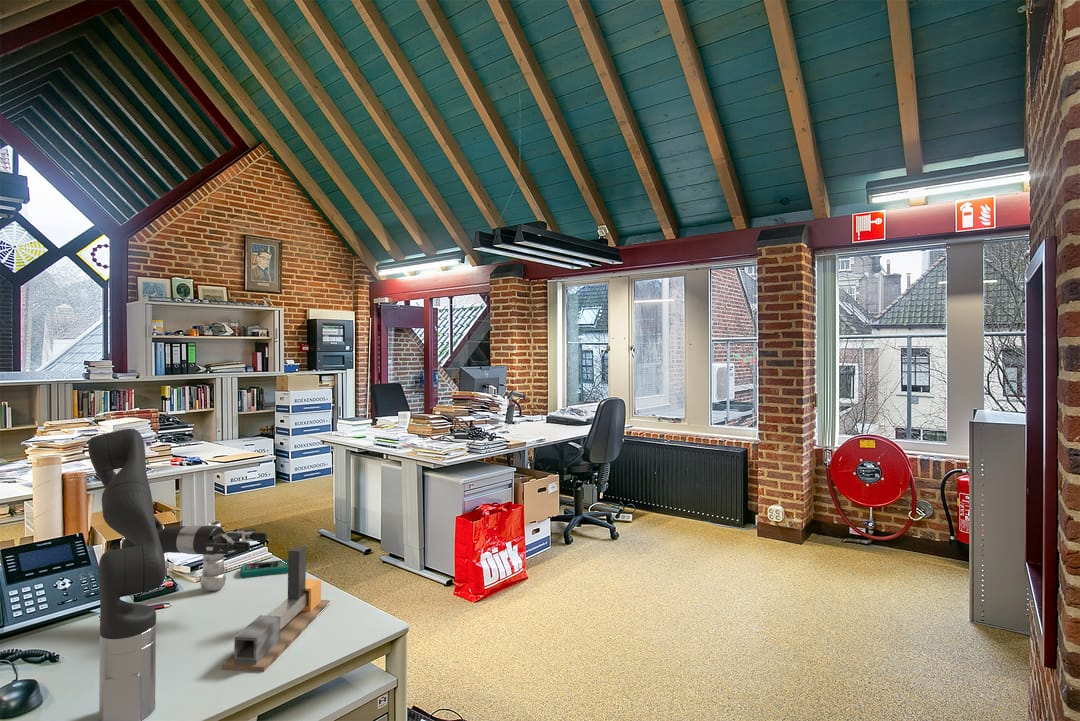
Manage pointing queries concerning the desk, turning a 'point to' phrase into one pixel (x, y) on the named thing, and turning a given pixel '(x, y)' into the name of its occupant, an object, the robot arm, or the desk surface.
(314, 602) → the far socket
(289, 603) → the slide bolt
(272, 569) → the digital multimeter
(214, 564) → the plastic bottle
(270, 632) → the bolt guide base
